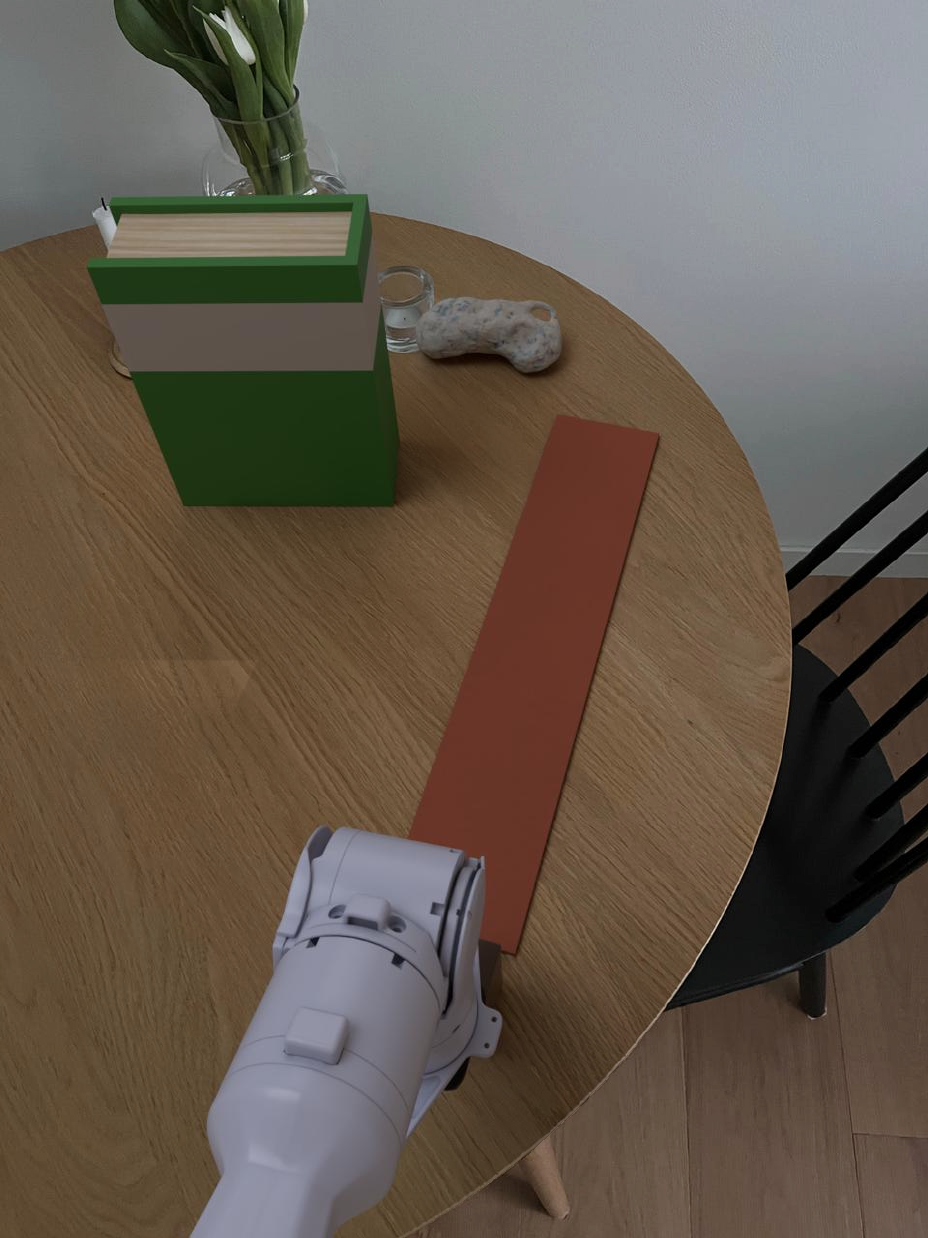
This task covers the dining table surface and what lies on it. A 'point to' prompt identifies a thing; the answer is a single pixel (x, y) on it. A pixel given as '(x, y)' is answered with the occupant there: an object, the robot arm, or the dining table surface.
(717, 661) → the dining table surface
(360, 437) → the hardback book
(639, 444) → the terracotta mat
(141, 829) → the dining table surface
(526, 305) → the decorative stone
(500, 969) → the walnut block
